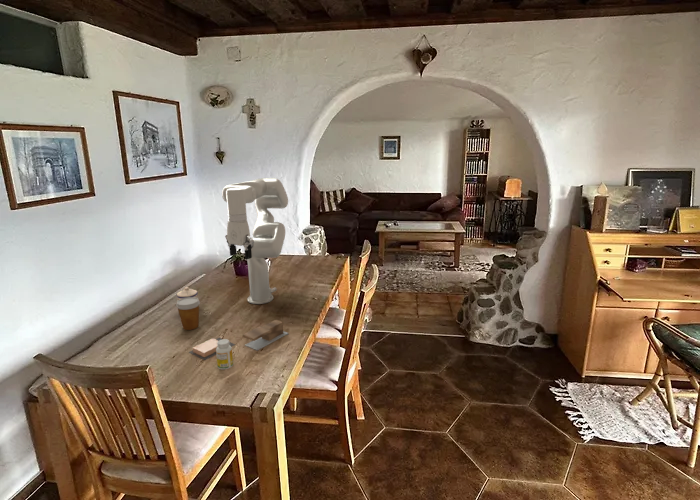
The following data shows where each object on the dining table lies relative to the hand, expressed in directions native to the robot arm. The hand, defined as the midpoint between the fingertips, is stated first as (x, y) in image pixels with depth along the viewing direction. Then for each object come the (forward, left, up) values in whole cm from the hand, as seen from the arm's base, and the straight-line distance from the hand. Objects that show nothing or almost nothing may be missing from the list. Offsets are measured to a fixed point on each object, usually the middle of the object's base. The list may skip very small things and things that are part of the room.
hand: (240, 256), depth 178 cm
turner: (+11, +24, -28) cm, 38 cm away
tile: (+24, +12, -27) cm, 38 cm away
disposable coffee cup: (+20, -12, -28) cm, 37 cm away
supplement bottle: (+32, +26, -28) cm, 50 cm away
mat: (+27, +12, -28) cm, 41 cm away
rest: (+10, +24, -28) cm, 38 cm away
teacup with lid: (+9, -28, -28) cm, 41 cm away
